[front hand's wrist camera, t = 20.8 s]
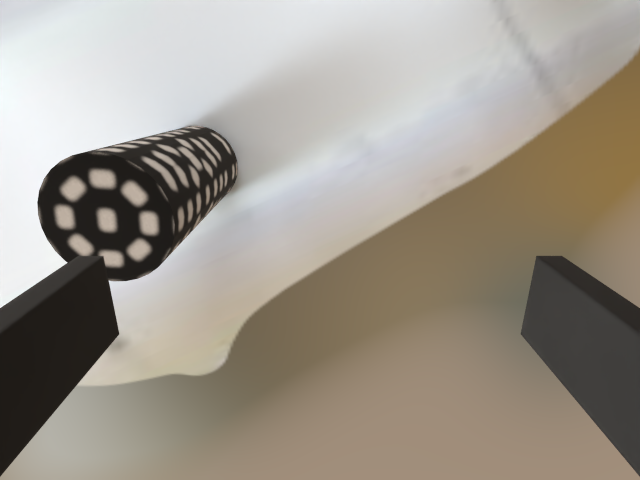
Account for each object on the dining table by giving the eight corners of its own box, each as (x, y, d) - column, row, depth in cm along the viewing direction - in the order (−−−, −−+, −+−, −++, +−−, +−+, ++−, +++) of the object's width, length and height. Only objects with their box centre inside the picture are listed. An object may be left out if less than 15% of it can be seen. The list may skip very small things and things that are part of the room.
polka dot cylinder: (158, 122, 42) (26, 146, 23) (237, 129, 42) (171, 157, 23) (162, 199, 45) (48, 276, 26) (237, 205, 45) (177, 285, 26)
